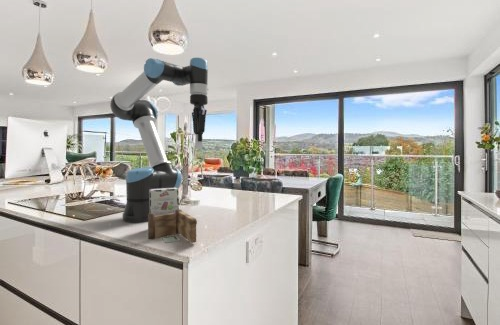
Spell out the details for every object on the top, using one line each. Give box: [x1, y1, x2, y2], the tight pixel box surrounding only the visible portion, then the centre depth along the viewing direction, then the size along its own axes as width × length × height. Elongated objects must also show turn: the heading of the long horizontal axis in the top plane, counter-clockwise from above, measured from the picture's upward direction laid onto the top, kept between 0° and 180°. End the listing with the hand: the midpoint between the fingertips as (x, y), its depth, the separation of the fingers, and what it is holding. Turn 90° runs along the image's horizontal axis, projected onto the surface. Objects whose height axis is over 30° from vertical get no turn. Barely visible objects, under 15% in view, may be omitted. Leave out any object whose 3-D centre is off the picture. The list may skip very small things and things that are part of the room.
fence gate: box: [177, 210, 198, 244], centre depth 100 cm, size 14×2×8 cm, turn 33°
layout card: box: [161, 234, 181, 244], centre depth 100 cm, size 6×5×1 cm
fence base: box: [147, 208, 183, 241], centre depth 104 cm, size 13×2×9 cm, turn 129°
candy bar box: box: [149, 188, 180, 216], centre depth 113 cm, size 11×5×16 cm, turn 114°
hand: (198, 149), depth 124 cm, fingers closed
